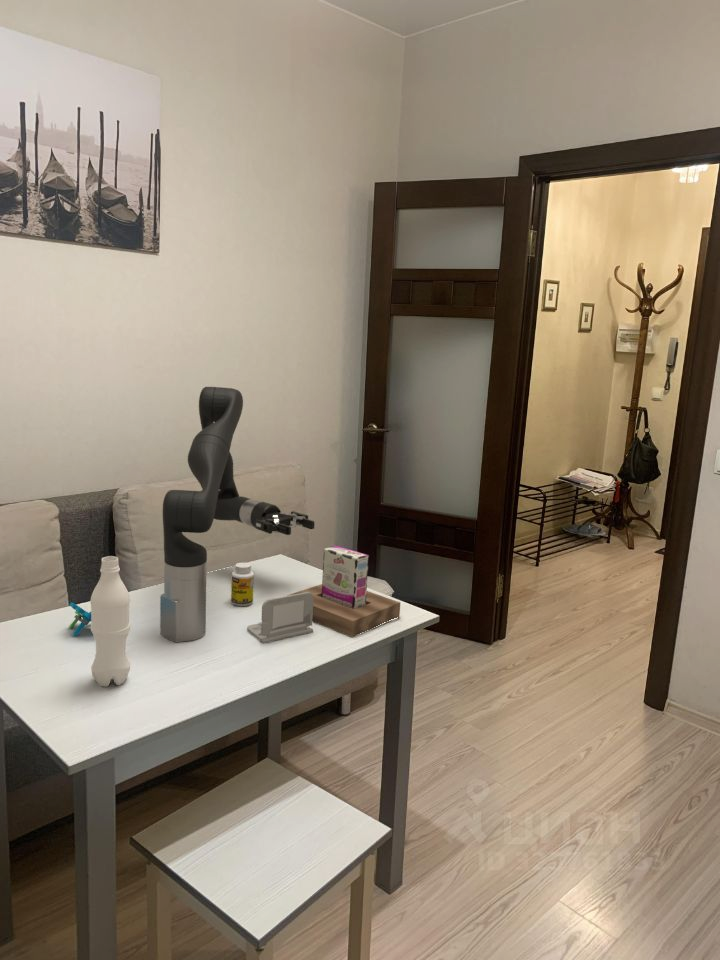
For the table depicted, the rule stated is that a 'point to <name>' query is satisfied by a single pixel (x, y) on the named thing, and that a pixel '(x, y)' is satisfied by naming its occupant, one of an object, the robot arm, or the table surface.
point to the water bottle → (110, 625)
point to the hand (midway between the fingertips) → (302, 528)
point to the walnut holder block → (352, 612)
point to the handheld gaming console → (284, 618)
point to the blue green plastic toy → (84, 621)
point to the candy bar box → (345, 576)
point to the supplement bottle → (242, 585)
